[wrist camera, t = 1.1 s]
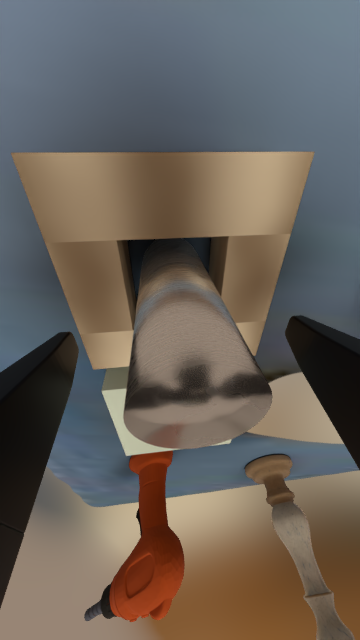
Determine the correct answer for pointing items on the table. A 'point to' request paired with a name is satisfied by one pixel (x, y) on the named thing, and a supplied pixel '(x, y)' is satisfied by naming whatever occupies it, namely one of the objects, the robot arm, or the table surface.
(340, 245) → the table surface
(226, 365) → the silver flared cylinder
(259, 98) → the table surface
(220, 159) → the socket block
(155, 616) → the toy drill
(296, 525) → the candle holder
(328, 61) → the table surface
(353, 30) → the table surface
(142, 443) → the square block with hole
